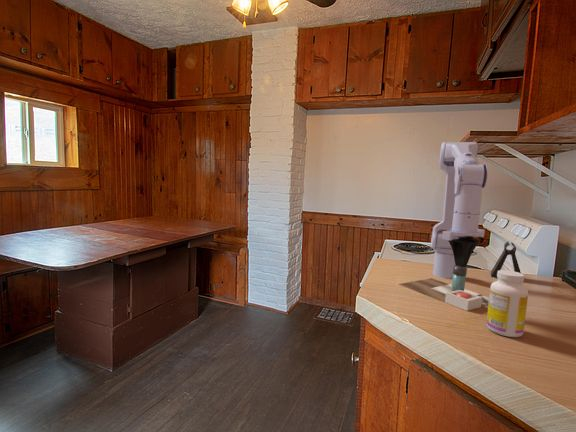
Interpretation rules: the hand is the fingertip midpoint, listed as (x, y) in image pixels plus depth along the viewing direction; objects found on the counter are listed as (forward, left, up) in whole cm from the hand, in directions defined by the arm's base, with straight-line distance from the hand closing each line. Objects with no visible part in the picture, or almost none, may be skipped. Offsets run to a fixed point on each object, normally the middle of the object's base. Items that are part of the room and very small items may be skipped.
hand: (460, 266), depth 82 cm
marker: (-4, -2, -9) cm, 10 cm away
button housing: (+1, +2, -10) cm, 11 cm away
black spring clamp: (-41, -8, -11) cm, 43 cm away
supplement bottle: (+4, +14, -11) cm, 18 cm away
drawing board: (-4, -5, -10) cm, 12 cm away
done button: (+1, +2, -9) cm, 9 cm away
